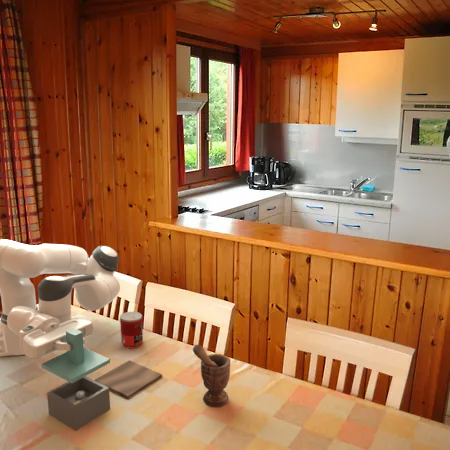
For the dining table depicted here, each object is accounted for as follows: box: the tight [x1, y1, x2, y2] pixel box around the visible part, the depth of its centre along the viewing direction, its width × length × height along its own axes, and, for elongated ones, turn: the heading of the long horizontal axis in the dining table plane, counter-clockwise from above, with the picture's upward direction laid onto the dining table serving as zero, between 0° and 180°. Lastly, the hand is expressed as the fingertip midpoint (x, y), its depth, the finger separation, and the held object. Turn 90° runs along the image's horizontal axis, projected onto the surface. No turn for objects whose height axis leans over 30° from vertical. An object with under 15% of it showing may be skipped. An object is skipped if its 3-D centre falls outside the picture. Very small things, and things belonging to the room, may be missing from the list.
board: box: [94, 360, 163, 400], centre depth 155 cm, size 15×15×1 cm
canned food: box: [119, 311, 144, 349], centre depth 178 cm, size 8×8×11 cm
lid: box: [41, 328, 111, 383], centre depth 134 cm, size 13×13×11 cm
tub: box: [46, 375, 111, 432], centre depth 138 cm, size 12×12×7 cm
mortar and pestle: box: [192, 344, 231, 408], centre depth 142 cm, size 12×9×20 cm
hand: (76, 344), depth 133 cm, fingers closed on lid, 2 cm apart
